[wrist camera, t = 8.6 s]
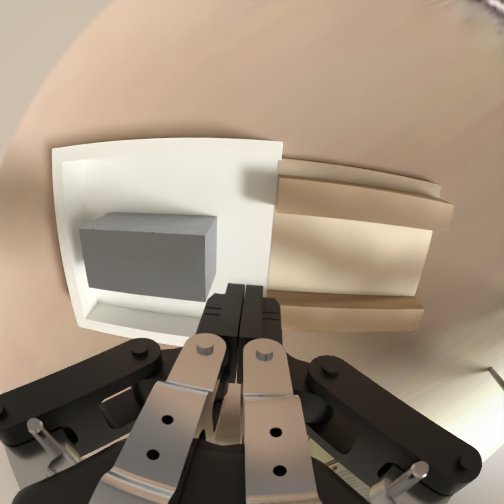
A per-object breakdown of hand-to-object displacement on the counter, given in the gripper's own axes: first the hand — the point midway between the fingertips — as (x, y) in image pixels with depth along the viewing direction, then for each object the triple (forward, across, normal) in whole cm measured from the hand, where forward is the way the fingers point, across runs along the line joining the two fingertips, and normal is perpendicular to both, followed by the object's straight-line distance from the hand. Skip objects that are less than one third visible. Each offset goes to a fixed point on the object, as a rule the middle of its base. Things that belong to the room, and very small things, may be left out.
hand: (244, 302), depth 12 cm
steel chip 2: (+7, +4, 0) cm, 8 cm away
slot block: (+8, -7, 0) cm, 11 cm away
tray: (+8, +6, 0) cm, 10 cm away
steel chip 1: (+7, +8, 0) cm, 11 cm away
